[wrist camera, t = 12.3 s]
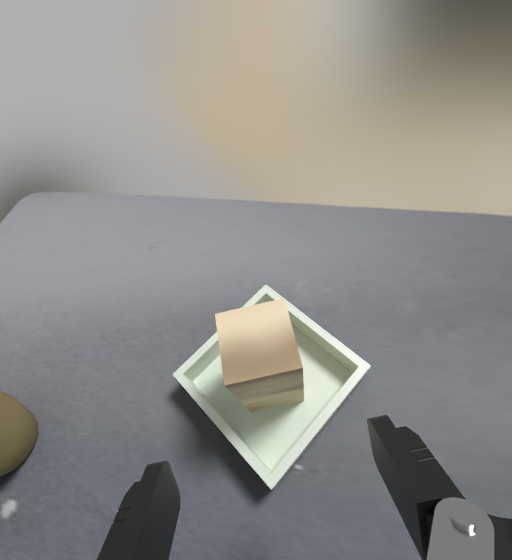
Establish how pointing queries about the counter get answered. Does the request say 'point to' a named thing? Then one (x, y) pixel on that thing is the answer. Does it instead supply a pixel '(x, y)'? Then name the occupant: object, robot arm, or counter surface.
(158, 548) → the robot arm
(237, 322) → the beech block
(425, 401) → the counter surface
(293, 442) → the bin
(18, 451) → the squeeze bottle
